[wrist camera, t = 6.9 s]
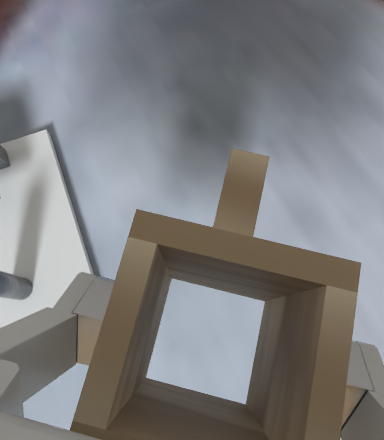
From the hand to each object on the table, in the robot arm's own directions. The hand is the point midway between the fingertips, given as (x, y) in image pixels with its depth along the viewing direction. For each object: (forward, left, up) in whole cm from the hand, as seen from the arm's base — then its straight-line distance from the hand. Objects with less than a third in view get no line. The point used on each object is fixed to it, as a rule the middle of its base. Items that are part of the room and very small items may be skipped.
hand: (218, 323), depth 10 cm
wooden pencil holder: (-2, -1, -4) cm, 5 cm away
